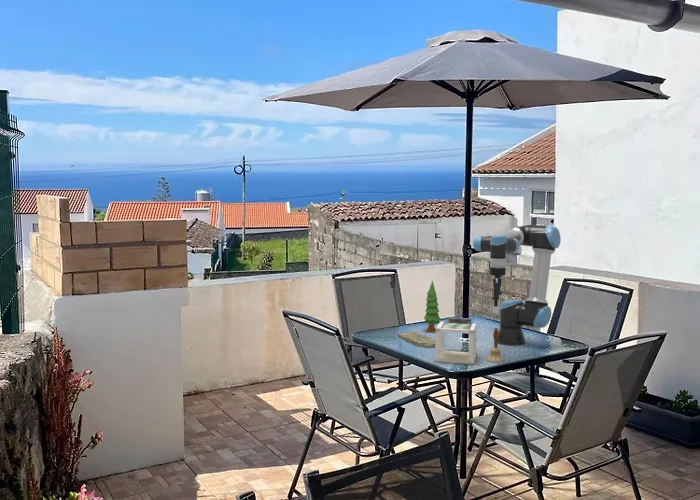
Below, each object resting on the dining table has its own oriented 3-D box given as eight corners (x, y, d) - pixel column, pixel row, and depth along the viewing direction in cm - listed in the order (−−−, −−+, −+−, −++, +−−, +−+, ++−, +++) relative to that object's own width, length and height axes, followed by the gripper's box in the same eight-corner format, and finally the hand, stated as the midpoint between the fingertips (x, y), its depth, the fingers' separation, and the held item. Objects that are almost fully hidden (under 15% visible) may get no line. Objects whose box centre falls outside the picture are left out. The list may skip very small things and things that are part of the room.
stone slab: (423, 343, 356) (396, 330, 383) (423, 351, 356) (396, 337, 384) (443, 341, 361) (415, 328, 388) (443, 349, 361) (415, 335, 388)
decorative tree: (434, 329, 406) (435, 278, 403) (443, 332, 397) (444, 280, 395) (420, 330, 401) (421, 279, 398) (429, 333, 393) (430, 281, 390)
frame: (476, 354, 344) (477, 323, 343) (473, 364, 326) (474, 331, 324) (438, 352, 349) (439, 321, 347) (433, 361, 331) (434, 328, 329)
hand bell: (507, 362, 331) (508, 329, 329) (491, 363, 328) (492, 330, 327) (498, 357, 339) (499, 326, 337) (483, 358, 336) (484, 326, 335)
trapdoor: (472, 323, 352) (473, 318, 352) (468, 332, 328) (468, 328, 328) (447, 321, 355) (447, 317, 355) (441, 331, 331) (441, 326, 331)
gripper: (491, 264, 342) (490, 306, 344) (488, 269, 318) (486, 314, 320) (506, 264, 340) (505, 306, 342) (504, 270, 316) (503, 315, 318)
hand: (496, 310), depth 331 cm, fingers open, 13 cm apart
